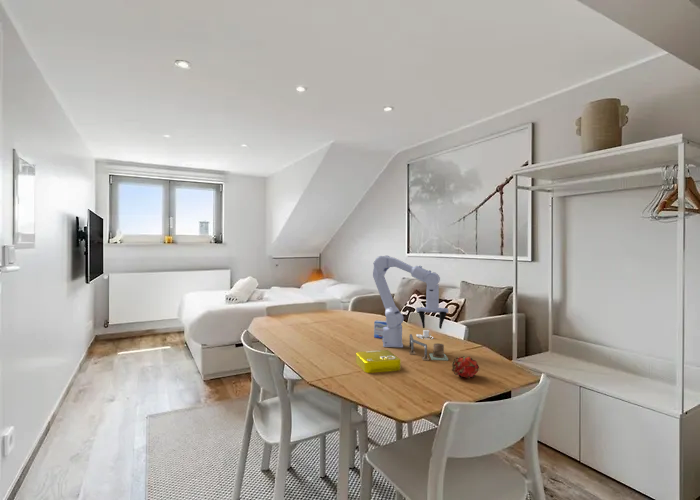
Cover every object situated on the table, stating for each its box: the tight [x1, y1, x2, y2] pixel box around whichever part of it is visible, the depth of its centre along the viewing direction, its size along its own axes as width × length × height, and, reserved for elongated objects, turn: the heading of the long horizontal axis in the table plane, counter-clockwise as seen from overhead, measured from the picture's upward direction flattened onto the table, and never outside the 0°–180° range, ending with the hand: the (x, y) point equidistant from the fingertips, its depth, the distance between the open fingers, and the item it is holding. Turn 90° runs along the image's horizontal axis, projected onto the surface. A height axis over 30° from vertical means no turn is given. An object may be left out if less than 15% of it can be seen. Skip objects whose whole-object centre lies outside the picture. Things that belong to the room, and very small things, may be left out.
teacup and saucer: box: [415, 329, 434, 340], centre depth 198 cm, size 9×8×4 cm
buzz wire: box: [407, 333, 430, 362], centre depth 168 cm, size 7×20×6 cm, turn 175°
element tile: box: [355, 349, 402, 374], centre depth 150 cm, size 15×15×5 cm
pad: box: [428, 352, 449, 361], centre depth 162 cm, size 7×8×1 cm
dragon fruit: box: [451, 355, 480, 379], centre depth 139 cm, size 8×8×12 cm
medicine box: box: [373, 319, 387, 339], centre depth 196 cm, size 8×4×9 cm, turn 73°
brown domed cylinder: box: [433, 343, 445, 358], centre depth 162 cm, size 5×5×5 cm
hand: (431, 327), depth 173 cm, fingers open, 7 cm apart
